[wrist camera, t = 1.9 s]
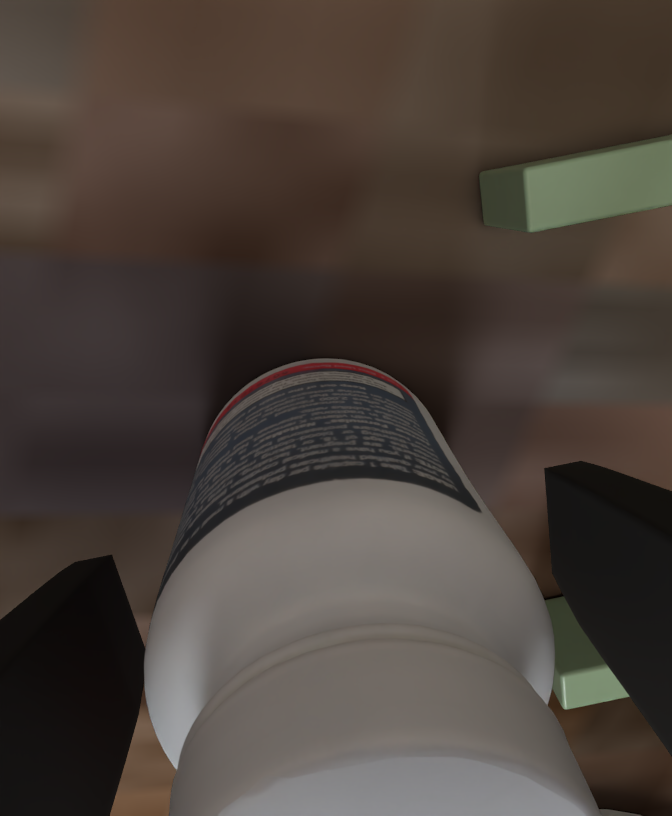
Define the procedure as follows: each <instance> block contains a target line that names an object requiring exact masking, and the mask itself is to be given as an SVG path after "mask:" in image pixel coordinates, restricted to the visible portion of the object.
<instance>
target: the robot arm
mask: <svg viewBox="0 0 672 816" xmlns="http://www.w3.org/2000/svg"><path fill="white" fill-rule="evenodd" d="M544 470H545V483H546V496H547V510H548V523H549V537H550V550H551V564H552V574H553V576H554V578H555V580H556V582H557V584H558V586H559V588H560V589H561V591H562V593H563V595H564V597H565V599H566V601H567V603H568V605H569V607H570V609H571V611H572V612H573V614H574V616H575V618H576V620H577V622H578V623H579V625H580V627H581V628H582V630H583V631H584V633H585V634H586V635H587V637H588V638H589V640H590V641H591V643H592V644H593V646H594V647H595V648H596V650H597V651H598V653H599V654H600V656H601V657H602V658H603V660H604V661H605V663H606V664H607V666H608V667H609V668H610V670H611V671H612V673H613V674H614V675H615V677H616V678H617V680H618V681H619V682H620V684H621V685H622V687H623V688H624V689H625V691H626V692H627V694H628V695H629V696H630V698H631V699H632V701H633V702H634V703H635V705H636V706H637V708H638V709H639V710H640V712H641V713H642V715H643V716H644V717H645V719H646V720H647V722H648V723H649V725H650V726H651V727H652V729H653V730H654V732H655V733H656V734H657V736H658V737H659V739H660V740H661V741H662V743H663V744H664V746H665V747H666V749H667V750H668V752H669V753H670V755H671V756H672V491H669V490H666V489H663V488H661V487H658V486H655V485H652V484H650V483H647V482H644V481H641V480H639V479H636V478H633V477H630V476H627V475H625V474H622V473H619V472H616V471H613V470H610V469H607V468H604V467H601V466H598V465H595V464H591V463H587V462H583V461H578V462H573V463H568V464H563V465H558V466H553V467H548V468H544ZM144 657H145V647H144V644H143V641H142V638H141V635H140V633H139V630H138V627H137V624H136V621H135V619H134V616H133V613H132V610H131V607H130V605H129V602H128V599H127V596H126V593H125V590H124V588H123V585H122V582H121V579H120V576H119V574H118V571H117V568H116V565H115V562H114V560H113V557H112V555H108V556H103V557H98V558H93V559H88V560H83V561H78V562H74V563H73V564H71V565H70V566H68V567H67V568H65V569H64V570H62V571H61V572H59V573H58V574H57V575H55V576H54V577H53V578H51V579H50V580H49V581H48V582H46V583H45V584H44V585H43V586H41V587H40V588H39V589H38V590H36V591H35V592H34V593H33V594H31V595H30V596H29V597H28V598H27V599H25V600H24V601H23V602H22V603H20V604H19V605H18V606H17V607H16V608H14V609H13V610H12V611H11V612H9V613H8V614H7V615H6V616H5V617H3V618H2V619H1V620H0V816H110V812H111V809H112V806H113V802H114V799H115V795H116V792H117V788H118V785H119V782H120V778H121V775H122V771H123V768H124V765H125V761H126V758H127V754H128V751H129V747H130V744H131V740H132V737H133V733H134V729H135V726H136V722H137V718H138V715H139V709H140V703H141V697H142V691H143V684H144Z"/></svg>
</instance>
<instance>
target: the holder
mask: <svg viewBox="0 0 672 816" xmlns="http://www.w3.org/2000/svg"><path fill="white" fill-rule="evenodd" d="M479 180H480V191H481V201H482V211H483V222H484V224H485V225H487V226H493V227H499V228H505V229H511V230H517V231H523V232H529V233H533V232H538V231H543V230H548V229H553V228H558V227H564V226H569V225H574V224H579V223H584V222H589V221H594V220H599V219H604V218H609V217H615V216H620V215H625V214H630V213H635V212H640V211H645V210H650V209H655V208H661V207H666V206H671V205H672V135H668V136H663V137H657V138H652V139H647V140H642V141H637V142H632V143H627V144H621V145H616V146H611V147H606V148H601V149H596V150H590V151H585V152H580V153H575V154H570V155H565V156H560V157H554V158H549V159H544V160H539V161H534V162H529V163H524V164H518V165H513V166H508V167H503V168H498V169H493V170H488V171H482V172H481V173H480V175H479ZM544 601H545V603H546V606H547V609H548V612H549V615H550V618H551V622H552V627H553V633H554V643H555V669H554V679H553V686H552V689H553V691H554V693H555V695H556V696H557V698H558V700H559V702H560V704H561V706H562V707H563V708H564V709H572V708H577V707H581V706H586V705H591V704H596V703H601V702H606V701H611V700H615V699H620V698H625V697H630V696H629V695H628V694H627V692H626V691H625V689H624V688H623V687H622V685H621V684H620V682H619V681H618V680H617V678H616V677H615V675H614V674H613V673H612V671H611V670H610V668H609V667H608V666H607V664H606V663H605V661H604V660H603V658H602V657H601V656H600V654H599V653H598V651H597V650H596V648H595V647H594V646H593V644H592V643H591V641H590V640H589V638H588V637H587V635H586V634H585V633H584V631H583V630H582V628H581V627H580V625H579V623H578V622H577V620H576V618H575V616H574V614H573V612H572V611H571V609H570V607H569V605H568V603H567V601H566V599H565V597H564V596H563V597H558V598H553V599H548V600H544Z"/></svg>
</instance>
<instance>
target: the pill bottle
mask: <svg viewBox="0 0 672 816" xmlns="http://www.w3.org/2000/svg"><path fill="white" fill-rule="evenodd" d="M554 669H555V643H554V633H553V627H552V622H551V618H550V615H549V612H548V609H547V606H546V603H545V601H544V598H543V595H542V593H541V591H540V589H539V587H538V584H537V582H536V580H535V578H534V576H533V575H532V573H531V572H530V570H529V568H528V567H527V565H526V564H525V562H524V560H523V559H522V557H521V556H520V554H519V553H518V551H517V550H516V548H515V547H514V545H513V544H512V542H511V541H510V539H509V538H508V537H507V535H506V534H505V532H504V531H503V529H502V528H501V526H500V525H499V524H498V522H497V521H496V519H495V518H494V516H493V515H492V513H491V512H490V511H489V509H488V508H487V506H486V505H485V503H484V502H483V500H482V499H481V497H480V496H479V494H478V493H477V491H476V490H475V488H474V487H473V485H472V484H471V482H470V481H469V479H468V478H467V476H466V474H465V473H464V471H463V470H462V468H461V466H460V465H459V463H458V461H457V460H456V458H455V456H454V455H453V453H452V451H451V450H450V448H449V446H448V445H447V443H446V441H445V439H444V437H443V435H442V434H441V432H440V430H439V429H438V427H437V425H436V424H435V422H434V420H433V418H432V417H431V415H430V414H429V412H428V410H427V409H426V408H425V407H424V405H423V404H422V403H421V402H420V401H419V399H418V398H417V397H416V396H415V395H414V394H413V393H412V392H411V391H409V390H408V389H407V388H406V387H405V386H404V385H403V384H401V383H400V382H399V381H397V380H396V379H394V378H393V377H391V376H390V375H388V374H386V373H384V372H382V371H380V370H378V369H376V368H374V367H371V366H368V365H365V364H362V363H358V362H354V361H349V360H344V359H330V358H322V359H309V360H304V361H298V362H294V363H290V364H287V365H284V366H281V367H279V368H276V369H274V370H271V371H269V372H267V373H265V374H263V375H261V376H259V377H258V378H256V379H255V380H253V381H251V382H250V383H249V384H247V385H246V386H245V387H243V388H242V389H241V390H240V391H239V392H238V393H236V394H235V395H234V396H233V397H232V398H231V400H230V401H229V402H228V403H227V404H226V405H225V406H224V408H223V409H222V410H221V412H220V413H219V415H218V416H217V418H216V419H215V421H214V423H213V425H212V427H211V428H210V431H209V433H208V435H207V438H206V440H205V443H204V445H203V448H202V451H201V454H200V458H199V462H198V465H197V468H196V471H195V475H194V478H193V482H192V485H191V488H190V491H189V494H188V497H187V501H186V504H185V508H184V511H183V514H182V517H181V521H180V524H179V527H178V531H177V534H176V537H175V540H174V544H173V547H172V551H171V554H170V557H169V560H168V563H167V566H166V570H165V573H164V576H163V579H162V583H161V586H160V589H159V593H158V596H157V600H156V604H155V607H154V611H153V615H152V619H151V623H150V627H149V632H148V638H147V644H146V649H145V657H144V683H145V694H146V702H147V706H148V710H149V715H150V718H151V722H152V724H153V727H154V730H155V733H156V735H157V737H158V739H159V741H160V744H161V746H162V748H163V750H164V752H165V753H166V755H167V757H168V758H169V760H170V761H171V763H172V764H173V766H174V767H175V768H176V770H177V771H176V774H175V777H174V780H173V785H172V790H171V798H170V812H169V816H602V815H601V813H600V810H599V808H598V806H597V804H596V802H595V799H594V797H593V795H592V793H591V791H590V788H589V786H588V784H587V782H586V780H585V778H584V776H583V774H582V772H581V770H580V767H579V765H578V763H577V761H576V759H575V757H574V755H573V753H572V751H571V749H570V747H569V744H568V741H567V739H566V736H565V733H564V731H563V729H562V727H561V725H560V723H559V722H558V720H557V718H556V716H555V715H554V713H553V711H552V710H551V709H550V708H549V707H548V702H549V698H550V694H551V690H552V686H553V679H554Z"/></svg>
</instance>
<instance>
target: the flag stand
mask: <svg viewBox="0 0 672 816" xmlns="http://www.w3.org/2000/svg"><path fill="white" fill-rule="evenodd" d="M599 810H600V813H601V815H602V816H642V815H639V814H633V813H627V812H621V811H615V810H609V809H599Z"/></svg>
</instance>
